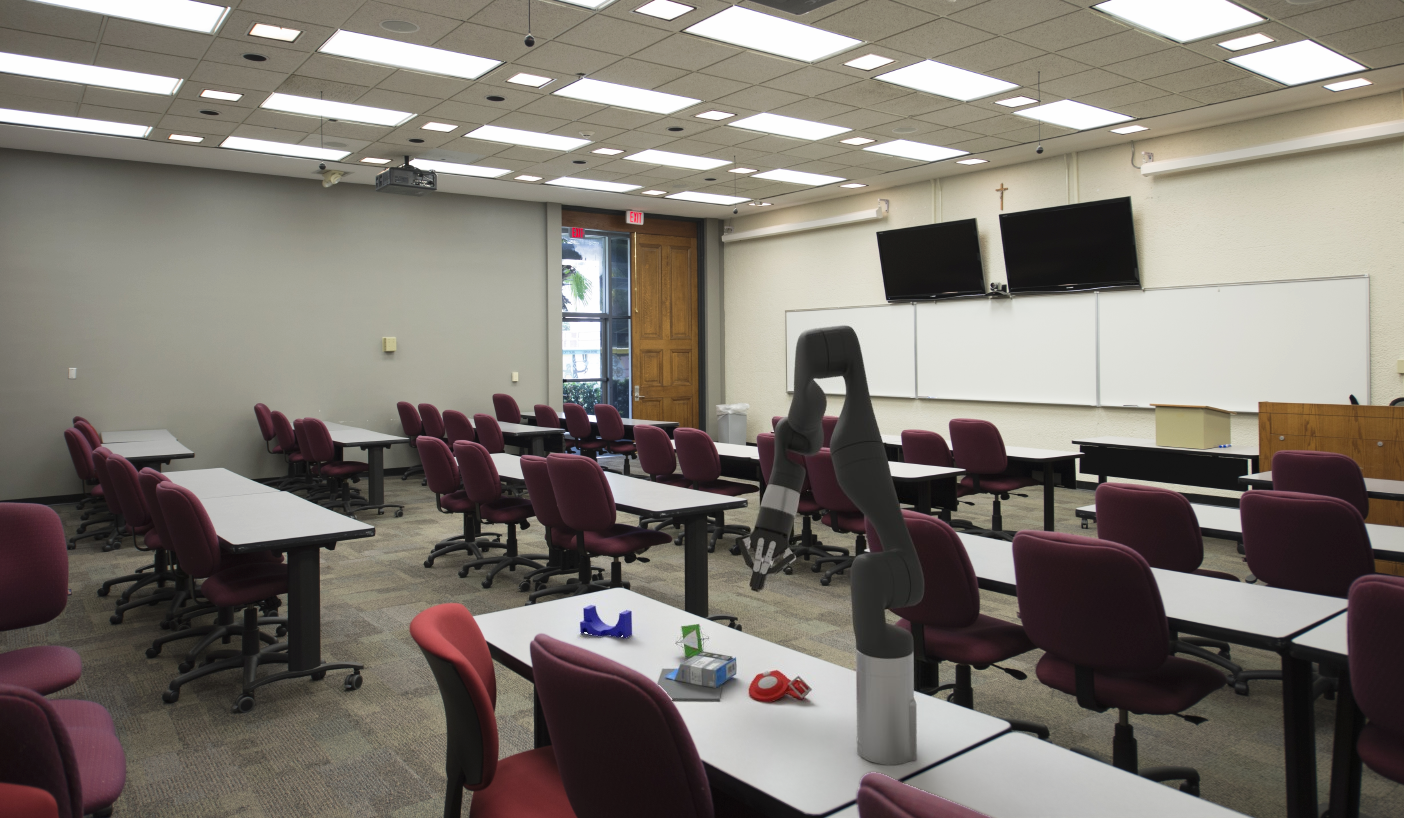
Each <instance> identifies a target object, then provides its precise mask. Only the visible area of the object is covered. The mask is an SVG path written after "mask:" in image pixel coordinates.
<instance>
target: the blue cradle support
mask: <svg viewBox="0 0 1404 818" xmlns="http://www.w3.org/2000/svg"><path fill="white" fill-rule="evenodd" d="M632 615H633V614H632V610H628V609H626V610H623V611H622V612H619V613H618V620H617V623H616V624H615V625H612V626H611V625H608V624H606V623H605V622H603V620H602V619H601V618H600V616H599V614H598V611H597V607H596V605H594V604H593V605H592V604H590V605H587V606H586V607H583V620H582V621H580V622H579V629H580V631H579V632H581V633H584V632H587V633H588V634H592V635H598V636H602V635H604V636H607V635H611V636H610V637H613V636H616V637H615V638H619V637H621V636H622V635H623V637H624V638H623V639H627V638H629V637H631V636H633V618H632V617H633V616H632ZM592 635H591V636H592ZM630 635H631V636H630ZM598 636H597V637H598ZM628 636H629V637H628ZM602 637H603V636H602ZM626 637H627V638H626Z"/></svg>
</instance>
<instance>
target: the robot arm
mask: <svg viewBox="0 0 1404 818" xmlns="http://www.w3.org/2000/svg"><path fill="white" fill-rule="evenodd" d="M793 370H794V371H793V372H794V373H793V374H794V376H793V392H792V393H793V394H792V399H791V403H790V407H789V410H788V414H787V416H784V417H782V418H780V420H778V422H777V424H776V425H775V427H774V437H773V438H774V456H773V457H774V458H773V464H772V468H771V474H770V475H769V476H770V477H769V480H768V484H767V486H766V489H765V492H764V494H763V497H762V500H761V503H760V507H759V511H758V513H757V517H756V521H755V525H754V528H753V530H752V531H751V533H750V534H749V536H748V537H745V538H743V539H741V538H739V539H737V545H738V547H739V550H740V552H741V555H742V558H743V560H744V562H745V565H746V566H747V567H748V568H750V569H751V570H752V571H751V572H752V573H751V577H750V581H749V588H750V591H752V592H754V593H760V591H763V590H765V589H764V588H765V585H766V582H767V578H768V576H769V575H774V576H775V575H778V574H779V573H780V572H782V571H783V570H784V569H786V568H787V567H789V565H791V564H792V563H794V562H795V561H796V560H797V556H796V554H794V553H793V552H792V550H791V549H790V546H791V545H790V537H791V532H792V530H793V525H794V523H795V522H794V521H795V519H796V516H797V514H798V508H799V504H800V503H799V501H800V496H801V492H802V490H803V489H802V488H803V485H804V481H805V477H806V469H805V467H804V466H802V465H801V464H799V463H797V462H796V461H793V460H792V459H791V458H790V457H789V456H788V454H787V451H789V452H792V453H796V454H799V455H803V456H806V457H812V456H815V455H817V454H819V452H820V451H821V450H822V448H823V445H824V441H825V437H824V436H825V431H824V427H823V419H824V416H825V413H826V411H827V405H828V404H827V403H828V402H827V401H828V399H827V396H826V393H825V392H824V390H823V388H822V387H821V386H820V385H819V384H818V383H817V382H816V380H818V379H819V380H821V379H822V380H823V379H829V378H830V379H831V378H837V377H842V378H843V380H844V384H845V386H844V387H845V397H844V401H843V405H842V409H841V412H840V414H839V416H838V419H837V421H836V424H835V427H834V429H833V431H832V435H831V438H830V442H829V453H830V457H831V461H832V465H833V469H834V473H835V477H836V481H837V484H838V485H839V487H840V489H841V490H842V491H843V493H844V494H845V495H846V497H847V498H848V499H849V500H850V501H851V502H852V503H853V504H854V505H855V507H856V508H858V510H859V511H860V512H861V513H862V514H863V515H864V516H865V518H866V519H867V520H868V521H869V522H870V524H871V525H872V527H873V528H874V530H875V532H876V534H877V537H878V539H879V541H880V545H881V547H882V551H875V552H866V553H861V554H858V555H856V557H854V560H853V561H852V563H851V564H852V565H851V566H850V572H849V573H850V574H849V575H850V577H849V579H850V580H849V583H850V598H851V600H850V601H851V614H852V628H853V633H854V636H855V639H854V640H855V680H856V681H855V683H856V688H855V690H856V691H855V692H856V695H855V696H856V752H857V753H858V755H859V756H860V757H862V758H863V759H865V760H867V761H869V762H872V763H876V764H881V765H900V764H905V763H907V762H909V761H914V762H915V761H917V760H918V754H917V753H918V749H917V748H918V745H917V744H918V742H917V741H918V740H917V738H918V737H917V734H918V733H917V731H918V730H917V725H918V724H917V722H918V721H917V719H918V718H917V715H918V714H917V702H916V699H915V697H914V696H915V690H914V689H915V681H914V680H915V679H914V678H915V677H914V676H915V675H914V674H915V671H914V667H915V666H914V663H915V661H914V658H915V657H914V650H915V649H914V646H915V645H914V636H913V634H912V632H911V631H909V630H908V629H906V628H904V627H902V626H899V625H895V624H891V623H889V622H887V620H886V610H893V609H900V608H907V607H912V606H913V607H914V606H916V605H918V604H920V602H922V600H923V597H924V594H925V577H924V572H923V568H922V565H921V561H920V559H919V556H918V552H917V550H916V547H915V545H914V541H913V540H912V537H911V536H912V535H911V534H910V532H909V529H908V526H907V524H906V521H905V518H904V514H903V512H902V509H901V505H900V502H899V499H898V495H897V491H896V487H895V485H894V481H893V476H892V473H891V468H890V465H889V464H890V463H889V460H888V456H887V453H886V452H887V451H886V448H885V445H884V442H883V438H882V435H881V431H880V428H879V425H878V421H877V418H876V414H875V411H874V408H873V403H872V398H871V395H870V390H869V385H868V379H867V375H866V368H865V363H864V358H863V354H862V349H861V344H860V340H859V338H858V336H857V333H856V331H855V330H854V328H853V327H851V326H849V325H845V324H844V325H833V326H824V327H818V328H817V327H816V328H815V327H814V328H810V329H807V330H806V329H805V330H804V331H802V332H801V333H800V334H799V336H798V337H797V341H796V347H795V357H794V369H793ZM815 379H816V380H815ZM751 546H752V548H753V552H754V554H755V556H754V562H753V559H752V558H753V557H752V556H751V553H750V551H749V549H750V547H751ZM781 555H783V556H782V557H783V559H781V560H780V561H779V562H778V563H776V564H775V565H774V566H773V564H774V561H775V560H777V559H778V558H779V557H780V556H781ZM904 762H905V763H904Z"/></svg>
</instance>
